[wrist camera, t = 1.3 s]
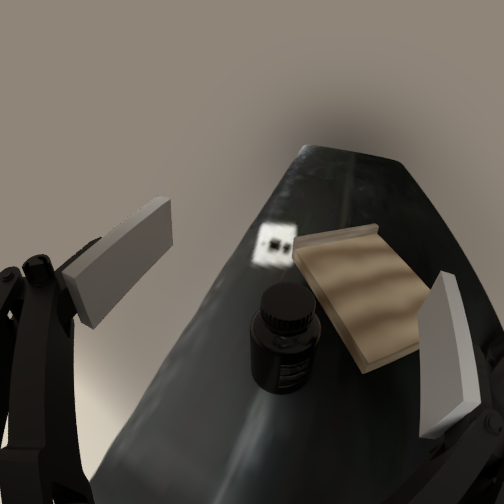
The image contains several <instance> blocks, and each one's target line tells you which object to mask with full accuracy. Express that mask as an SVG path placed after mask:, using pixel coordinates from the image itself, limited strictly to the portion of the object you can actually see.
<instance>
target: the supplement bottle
mask: <svg viewBox="0 0 504 504" xmlns="http://www.w3.org/2000/svg"><path fill="white" fill-rule="evenodd" d="M315 303H316V300H315V297H314V296H313V293H312V292H310V290H309V289H307V288H306V287H304V286H303V285H299V284H298V283H293V282H291V283H290V282H282V283H277V284H275V285H272V286H271V287H269V288H268V289H266V291H265V292H264V293H263V296H262V299H261V307H260V309H259V310H258V311H257V312H256V313H255V315H254V316H253V318H252V320H251V324H250V348H251V371H252V376H253V378H254V380H255V382H256V383H257V384H258V385H259V386H260V387H261V388H262V389H263V390H265V391H267V392H269V393H273V394H279V395H283V394H290V393H293V392H295V391H297V390H299V389H300V388H302V387H303V386H304V385H305V384H306V382H307V381H308V379H309V376H310V373H311V370H312V366H313V363H314V359H315V355H316V351H317V348H318V344H319V340H320V335H321V325H320V321H319V319H318V317H317V315H316V314H315V307H316V304H315Z"/></svg>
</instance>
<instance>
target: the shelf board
mask: <svg viewBox="0 0 504 504" xmlns="http://www.w3.org/2000/svg"><path fill="white" fill-rule="evenodd" d="M378 228H379V226H378V225H377V224H370V225H364V226H358V227H353V228H347V229H341V230H335V231H329V232H323V233H318V234H312V235H306V236H300V237H294V242H293V252H292V259H293V260H294V262H295V263H296V265H297V267H298V268H299V270H300V271H301V273H302V275H303V276H304V278H305V279H306V281H307V283H308V284H309V286H310V288H311V289H312V291H313V292H314V294H315V296H316V297H317V299H318V301H319V302H320V304H321V305H322V307H323V309H324V310H325V312H326V314H327V315H328V317H329V319H330V320H331V322H332V324H333V325H334V327H335V329H336V330H337V332H338V334H339V335H340V337H341V339H342V340H343V342H344V344H345V345H346V347H347V349H348V350H349V352H350V354H351V355H352V357H353V359H354V361H355V362H356V364H357V366H358V367H359V369H360V371H361V373H362V374H365V373H367V372H370V371H372V370H374V369H377V368H379V367H381V366H384V365H386V364H388V363H390V362H393V361H395V360H397V359H399V358H401V357H403V356H406V355H408V354H410V353H412V352H414V351H416V350H418V349H420V347H419V332H418V320H417V313H418V312H419V310H420V308H421V306H422V305H423V303H424V301H425V299H426V298H427V296H428V294H429V292H430V289H429V288H428V287H427V286H426V285H425V284H424V283H423V282H422V280H421V279H420V278H419V277H418V276H417V275H416V274H415V273H414V272H413V271H412V269H411V268H410V267H409V266H408V265H407V264H406V263H405V262H404V261H403V260H402V259H401V258H400V257H399V256H398V255H397V254H396V253H395V251H394V250H393V249H392V248H391V247H390V246H389V245H388V244H387V243H386V242H385V241H384V240H383V239H382V238H381V237H380V236H379V235H378V234H377V232H378Z"/></svg>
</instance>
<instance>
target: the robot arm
mask: <svg viewBox="0 0 504 504" xmlns="http://www.w3.org/2000/svg"><path fill="white" fill-rule="evenodd" d="M172 245H173V239H172V221H171V201H170V199H169V198H165V197H160V196H157V197H155V198H154V199H153V200H151V201H150V202H149V203H147V204H146V205H145V206H143V207H142V208H140V209H139V210H138V211H136V212H135V213H134V214H132V215H131V216H130V217H128V218H127V219H126V220H125V221H124V222H122V223H120V224H119V225H118V226H117V227H115V228H114V229H113V230H112V231H110V232H109V233H108V234H106V235H105V236H104V237H103V238H102V237H99V238H97V239H95V240H93V241H90V242H89V243H88V244H87V245H85V246H84V247H83V248H82V250H80V251H78V252H77V253H76V255H74V256H72V257H71V258H70V259H68V260H67V261H66V262H65V263H64V264H63V265H62V266H60V267H59V268H58V269H57V270H56V271H54V269H53V266H52V264H51V261H50V258H49V257H48V256H47V255H44V254H41V255H35V256H33V257H31V258H29V259H28V260H27V261H26V262H25V263H24V264H23V266H22V269H23V271H24V274H25V276H26V277H22V274H21V272H20V270H19V268H17V267H14V266H13V267H8V268H6V269H4V270H3V271H2V272H0V449H1V444H2V439H3V434H4V429H5V424H6V420H7V416H8V444H7V446H6V447H4V448H2V449H1V450H0V491H1V499H2V504H53V500H54V503H55V504H95V503H94V499H93V494H92V490H91V487H90V484H89V481H88V479H87V478H86V476H85V474H84V472H83V470H82V464H81V459H80V451H79V443H78V435H77V425H76V413H75V397H74V365H73V364H74V319H73V317H74V316H75V314H77V313H78V316H79V318H80V321H81V323H83V324H85V325H87V326H88V327H90V328H92V329H94V328H96V326H97V325H98V324H99V323H100V322H101V321H102V319H104V317H105V316H106V315H107V314H108V313H109V312H110V311H111V310H112V309H113V308H114V306H115V305H116V304H117V303H118V302H119V301H120V300H121V299H122V298H123V297H124V296H125V294H126V293H127V292H128V291H129V290H130V289H131V288H132V287H133V286H134V285H135V284H136V283H137V281H139V280H140V278H141V277H142V276H143V275H144V274H145V273H146V272H147V271H148V270H149V269H150V268H151V267H152V266H153V265H154V264H155V263H156V262H157V261H158V260H159V259H160V258H161V256H163V255H164V254H165V253H166V252H167V250H169V248H170V247H171V246H172ZM9 310H10V311H11V313H12V314H13V316H12V318H11V319H9V317H8V315H7V314H8V312H9ZM417 320H418V332H419V347H420V372H421V409H420V433H419V437H422V438H431V439H436V438H438V437H439V436H441V435H442V434H443V433H445V441H443V442H442V443H440V444H439V445H438V446H436V447H435V448H433V449H432V450H430V451H429V452H430V453H432V452H433V451H434V452H433V453H432V454H431V455H430V456H429V457H428V458H427V459H426V461H425V462H424V463H423V464H422V465H421V466H420V467H419V468H418V469H417V470H416V471H415V472H414V473H413V474H412V475H411V476H410V477H409V478H408V479H407V480H406V481H405V482H404V483H403V484H402V485H401V486H400V487H399V488H398V489H397V490H396V491H395V492H394V493H392V494H391V495H390V496H389V497H388V498H387V499H386V500H385V501H384V502H382V503H381V504H504V332H503V333H501V334H500V335H498V336H497V337H495V338H494V339H493V340H492V341H491V342H490V344H489V345H488V346H487V348H486V349H485V350H484V351H483V353H482V351H481V349H480V347H479V345H474V344H472V341H471V337H470V332H469V327H468V323H467V319H466V315H465V311H464V307H463V303H462V299H461V296H460V292H459V289H458V285H457V282H456V279H455V276H454V275H453V274H450V273H446V272H443V271H440V273H439V275H438V277H437V279H436V281H435V283H434V285H433V287H432V289H431V290H430V292H429V294H428V296H427V298H426V299H425V301H424V303H423V305H422V306H421V308H420V310H419V312H418V313H417ZM8 412H9V413H8Z"/></svg>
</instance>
